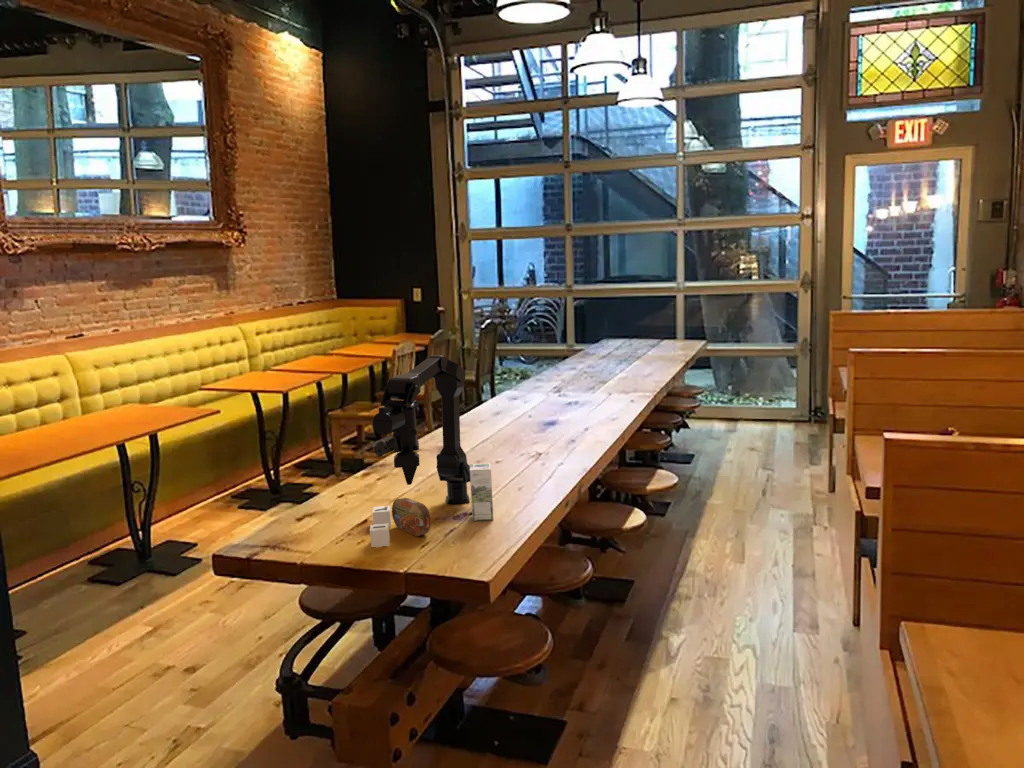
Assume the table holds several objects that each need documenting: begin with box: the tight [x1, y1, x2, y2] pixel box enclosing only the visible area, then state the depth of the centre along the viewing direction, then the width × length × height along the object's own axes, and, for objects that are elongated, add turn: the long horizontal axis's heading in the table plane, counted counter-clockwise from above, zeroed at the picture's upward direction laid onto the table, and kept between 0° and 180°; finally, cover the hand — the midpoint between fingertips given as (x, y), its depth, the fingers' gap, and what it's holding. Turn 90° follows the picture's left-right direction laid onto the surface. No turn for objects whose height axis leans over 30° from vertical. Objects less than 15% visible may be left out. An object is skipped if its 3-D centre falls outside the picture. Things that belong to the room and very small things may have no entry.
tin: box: [391, 497, 432, 537], centre depth 216 cm, size 15×3×8 cm, turn 40°
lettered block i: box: [369, 523, 391, 548], centre depth 208 cm, size 4×4×5 cm
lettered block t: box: [372, 505, 392, 528], centre depth 222 cm, size 4×4×5 cm
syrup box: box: [469, 462, 494, 522], centre depth 223 cm, size 6×6×14 cm
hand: (409, 484), depth 214 cm, fingers closed
